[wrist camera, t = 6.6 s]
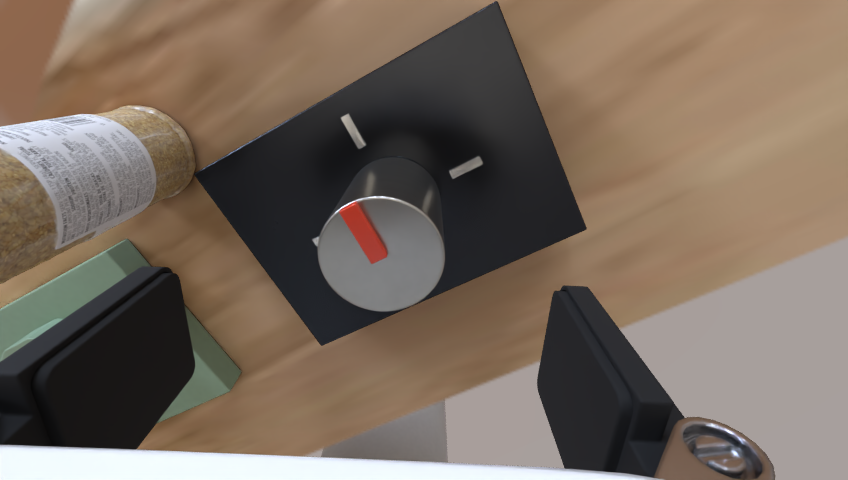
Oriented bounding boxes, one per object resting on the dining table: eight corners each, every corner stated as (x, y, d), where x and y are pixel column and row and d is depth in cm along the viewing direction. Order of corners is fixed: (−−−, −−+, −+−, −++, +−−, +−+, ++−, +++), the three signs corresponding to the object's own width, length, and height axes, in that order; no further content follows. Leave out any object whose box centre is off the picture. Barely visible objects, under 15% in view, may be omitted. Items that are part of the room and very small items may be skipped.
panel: (333, 313, 24) (320, 348, 21) (224, 158, 21) (191, 175, 18) (566, 207, 21) (588, 231, 18) (486, 9, 18) (498, -1, 15)
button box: (97, 436, 28) (54, 485, 25) (-28, 324, 25) (-96, 363, 21) (242, 371, 26) (216, 416, 22) (127, 237, 22) (77, 267, 19)
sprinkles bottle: (111, 189, 21) (-332, 370, 9) (98, 95, 19) (-479, 157, 7) (203, 203, 21) (-103, 397, 9) (198, 111, 20) (-190, 198, 7)
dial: (456, 221, 18) (467, 287, 13) (377, 259, 19) (357, 335, 14) (413, 139, 17) (406, 176, 12) (330, 183, 18) (288, 235, 12)
